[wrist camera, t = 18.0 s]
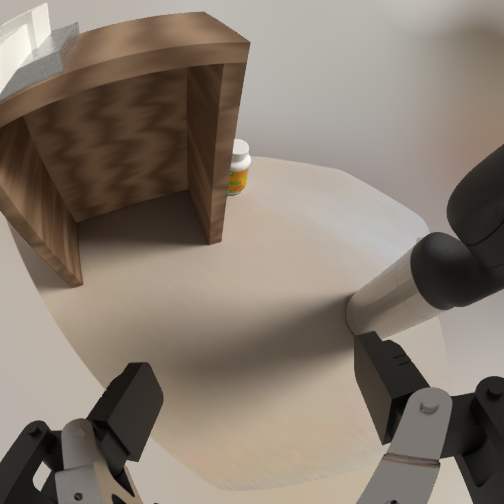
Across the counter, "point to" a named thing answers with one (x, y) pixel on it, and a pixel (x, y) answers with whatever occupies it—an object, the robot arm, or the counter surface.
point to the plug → (21, 40)
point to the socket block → (44, 60)
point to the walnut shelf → (123, 130)
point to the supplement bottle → (239, 167)
